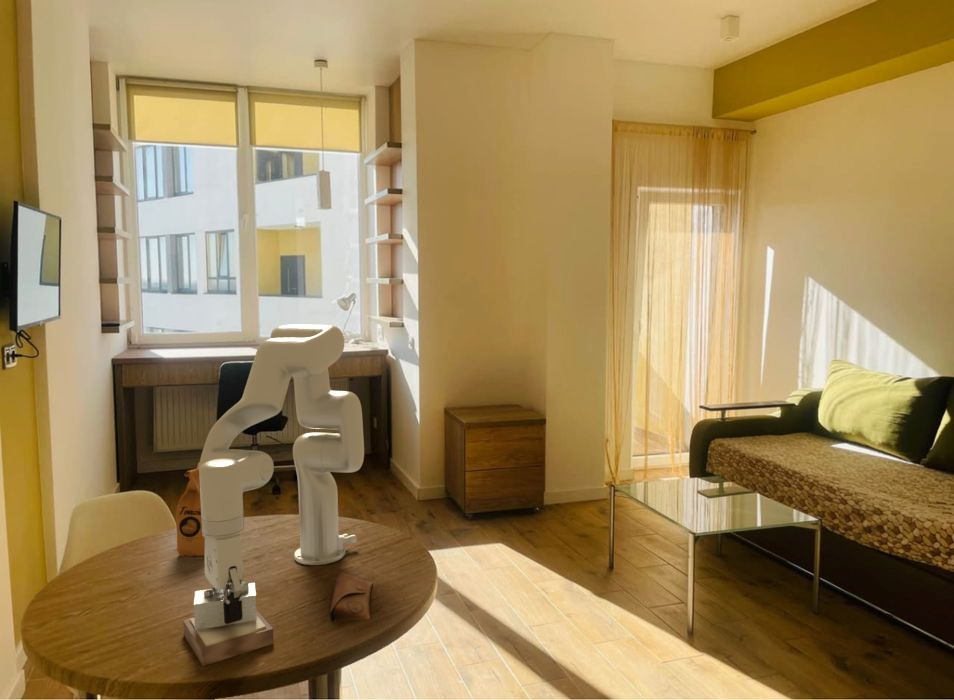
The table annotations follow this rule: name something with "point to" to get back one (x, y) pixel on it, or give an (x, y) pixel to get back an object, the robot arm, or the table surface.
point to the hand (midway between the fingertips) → (227, 612)
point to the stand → (227, 639)
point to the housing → (222, 606)
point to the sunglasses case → (350, 599)
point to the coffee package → (190, 518)
